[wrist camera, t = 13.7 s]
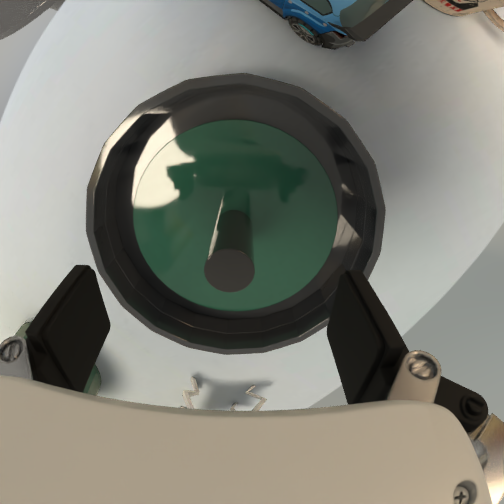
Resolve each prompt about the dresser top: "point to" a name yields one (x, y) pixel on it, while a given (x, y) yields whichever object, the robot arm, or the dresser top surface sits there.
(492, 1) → the teacup with lid
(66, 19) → the dresser top surface
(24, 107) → the dresser top surface
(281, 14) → the toy car
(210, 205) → the lid
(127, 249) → the pan
